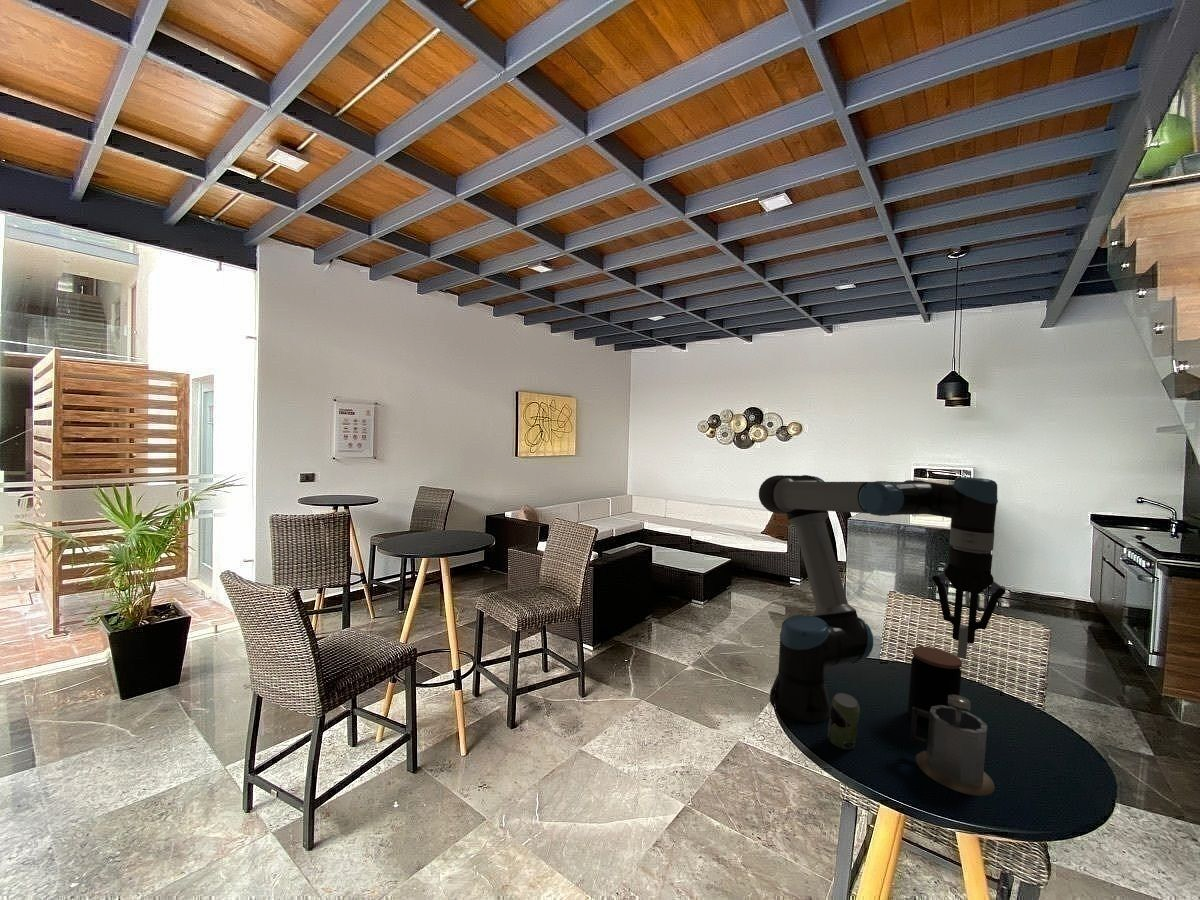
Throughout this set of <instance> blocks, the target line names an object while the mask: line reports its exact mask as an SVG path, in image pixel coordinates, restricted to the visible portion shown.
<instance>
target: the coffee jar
mask: <svg viewBox="0 0 1200 900" xmlns="http://www.w3.org/2000/svg"><path fill="white" fill-rule="evenodd" d="M911 654H912V655H913V656H912V659H911V662H910V675H909V677H910V678H909V689H908V701H907V702H908V703H907V714H908V717H909V718H910V719H911V716H912V707H913V706H914V707H916V708H919V709H922V710H925V711H928V712H930V709H931V707H932V706H937V705H944V706H950V705H949V704H948V695H958V696H961V695H960V694H961V682H962V681H961V680H962V669H961V668H962V667H963V665H962V664H963V661H962V658H959V657H957V655H955V654H953V653H951V652H949V651H947V650H946V651H945V650H943V649H939V648H935V647H930V646H915V647H913V648H912V650H911ZM917 725H919V726H920V727H922V728H924V729H926V730H928V728H929V718H926V717H923V716H920V715H917Z"/></svg>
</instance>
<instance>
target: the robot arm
mask: <svg viewBox="0 0 1200 900" xmlns="http://www.w3.org/2000/svg"><path fill="white" fill-rule="evenodd" d="M758 499H759V501H760V504H761V505H762V506H763V508H764V509H766V510H767V511H769V512H771V513H774V514H780V515H781V514H782V515H783V514H785V515H786V516H787V519H788V520H787V521H788V523H789V524H792V526H794V527H795V530H796V531H795V532H796V536H797V538H798V542H799V548H800V551H801V553H802V557H803V562H804V565H805V570H806V574H807V578H808V581H809V585H810V589H811V593H812V598H813V600H814V601H813V602H814V605H815V610H814V611H813V613H812V614H811V615H804V614H796V615H791V616H789V617H787V618H785V619H784V620H783V621H782V624H781V629H780V633H779V653H778V655H779V657H778V672H777V674H776V677H775V680H774V682H773V684H772V686H771V689H770V691H769V702H770V705H771V706H772V707H773V708H774V709H775V706H774V690H775V686H776V690H775V703H776V708H777V710H776V711H777V712H778V711H779V713H780V714H781V715H784V716H785V717H787V718H790V719H793V720H796V721H798V722H802V723H803V722H804V723H811V724H814V723H822V722H825V721H828V720H829V717H830V708H831V702H830V701H831V700H830V698H829V695H828V691H827V686H826V672H827V671H826V670H827V668H830V667H835V666H841V665H846V664H856V663H858V662H860V661H863V660H865V659H867V658H868V657H869V656H870V654H871V652H872V651H873V648H874V636H873V635H874V634H873V632H872V630H871V627H870V626H869V625H868V624H867V623H866V622H865V620H864V619H862V618H861V617H858V613H857V609H856V608H854V607H853V606H851V605H850V604H849V603H848V600H847V599H848V598H847V595H846V591H845V588H844V585H843V582H842V581H843V580H842V577H841V574H840V570H839V566H838V563H837V559H836V556H835V552H834V549H833V544H832V542H831V538H830V534H829V530H828V527H827V524H826V520H827V519H828V517H829V516H830V514H829V512H839V513H853V514H854V513H858V514H869V515H873V516H878V517H883V516H884V517H889V516H898V515H900V516H902V515H905V516H909V515H911V516H912V515H930V516H937V517H942V518H943V517H944V518H948V519H951V520H950V533H949V544H950V545H951V546H950V547H949V548H948V559H947V567H946V568H945V569H944V571H943V572H939V573H934V574H933V575H932V576H931V579H932V582H934V584H935V586H936V588H937V594H938V598H939V603H940V609H941V612H942V613H941V614H942V617H943V620H944V621H946V622H949V623H950V624H952V635H951V636H952V640H955V641H957V654H956V656H957V657H958V658H960V659H963V660H966V659H967V655H968V654H967V652H968V644H969V645H974V643H975V637H976V631H977V630H986V629H987V627H988V625H989V622H990V620H991V617H992V616H993V613H994V611H995V608H996V606H997V603H998V602H999V599H1001V598H1002V597H1003V596H1004V595H1005V594H1006V587H1005V586H1003V585H1000V584H998V583H997V582H996V581H995V580H994V577H993V574H992V567H993V556H994V555H993V554H992V553H991V552H992V551H994V543H995V526H996V525H995V524H996V523H995V522H996V514H997V505H998V503H999V500H998V483H997V482H996V481H995V480H993V479H990V478H989V479H988V478H980V477H979V478H978V477H968V476H967V477H966V476H964V477H963V476H958V477H956V478H955V479H954V481H953V484H950V483H949V484H948V483H947V484H946V483H938V482H932V481H925V480H921V479H920V480H918V479H917V480H916V479H913V480H912V479H908V480H904V481H887V480H878V481H877V480H875V481H825V480H824V479H823V478H821V477H818V476H814V475H807V474H803V475H783V474H782V475H781V474H780V475H777V474H776V475H773V476H770V477H768V478H766V479H765V480H764V481H763V482H762V483H761V484H760V487H759V489H758ZM946 578H947V579H946ZM947 580H948V581H949V583H950V584H951V585H952V587H953V588H954V589H955V598H954V608H953V609H954V611H953V615H952V614H951V613H952V612H951V608H950V604H949V599H948V594H947V590H946V586H945V583H946V582H947ZM988 587H991V588H990V593H991V595H990V597H989V599H988V602H987V604H986V606H985V608H984V611H983V612H982V616H981V618H980V620H979V621H978V620H977V613H978V599H979V594H980V593H982V592H984V591H985V590H986V589H988ZM964 592H965V593H966V592H967V593H969V594H970V597H969V598H970V599H969V611H968V625H965V624H962V623H961V622H962V614H963V613H962V611H963V601H964Z"/></svg>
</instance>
